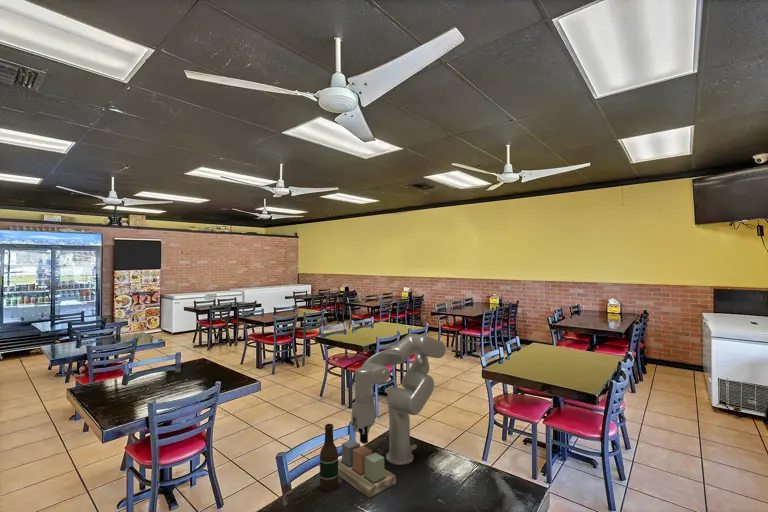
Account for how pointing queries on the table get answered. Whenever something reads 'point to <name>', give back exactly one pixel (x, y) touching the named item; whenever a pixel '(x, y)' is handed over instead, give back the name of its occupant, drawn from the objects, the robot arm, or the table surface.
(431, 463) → the table surface
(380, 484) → the birch board
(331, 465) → the beer bottle
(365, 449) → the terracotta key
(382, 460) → the sage key
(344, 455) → the slate key
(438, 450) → the table surface
